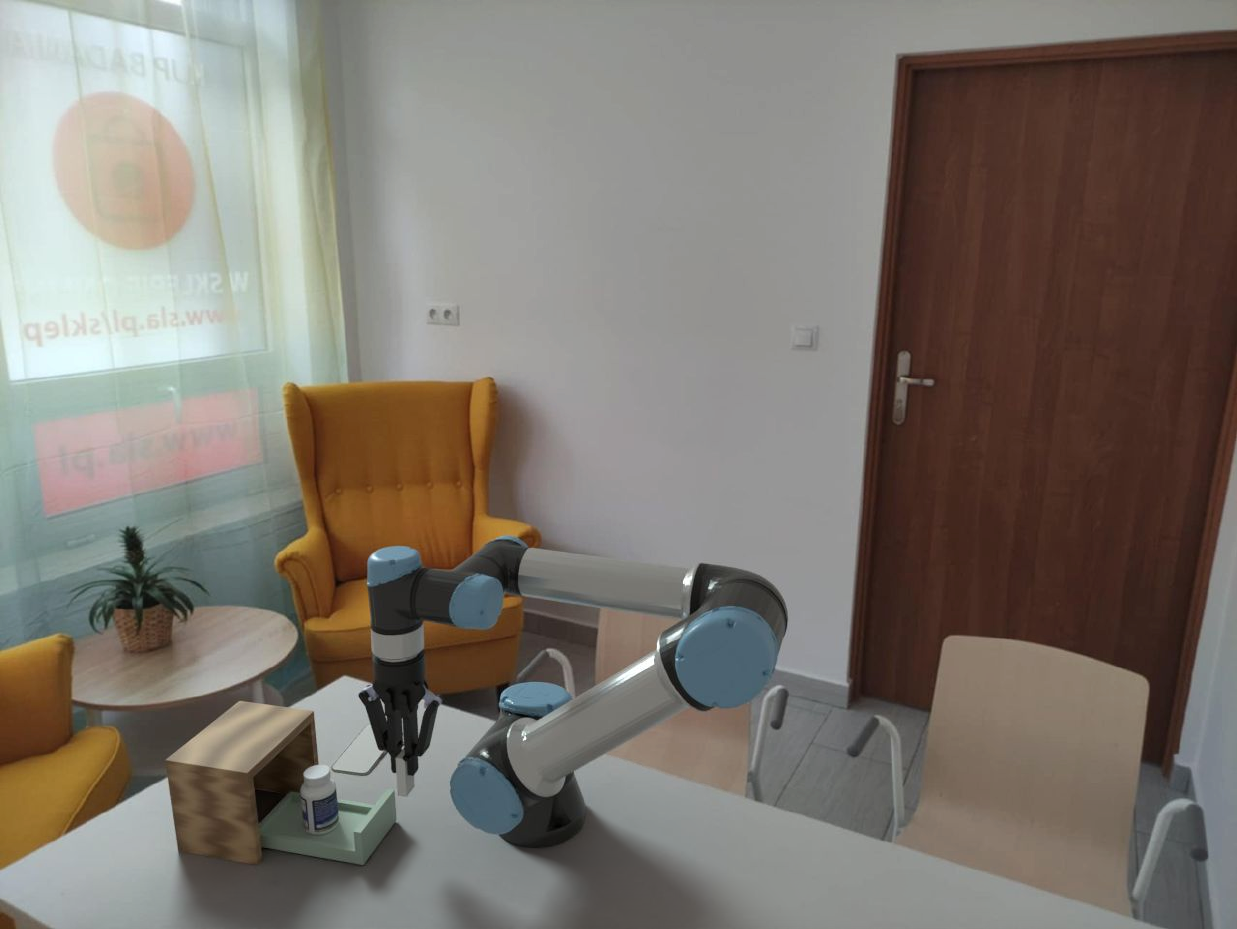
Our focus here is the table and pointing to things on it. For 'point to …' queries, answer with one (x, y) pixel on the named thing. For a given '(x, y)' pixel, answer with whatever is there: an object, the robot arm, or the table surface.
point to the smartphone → (360, 754)
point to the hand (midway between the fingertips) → (406, 790)
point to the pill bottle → (319, 800)
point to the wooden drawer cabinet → (237, 777)
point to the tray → (344, 843)
